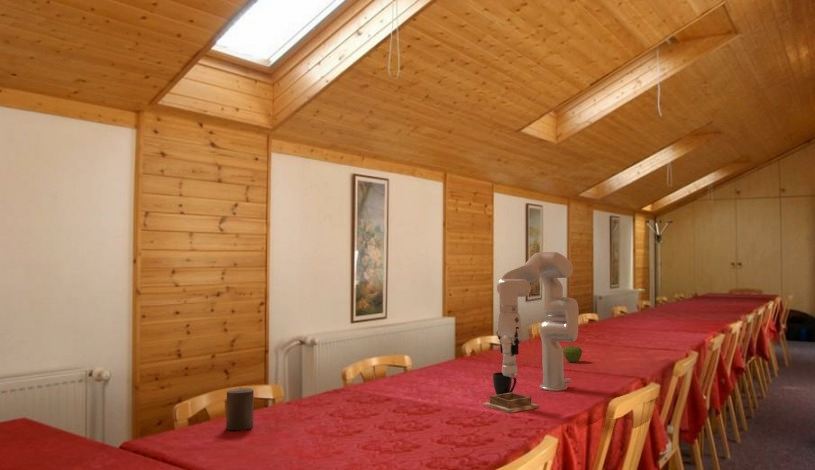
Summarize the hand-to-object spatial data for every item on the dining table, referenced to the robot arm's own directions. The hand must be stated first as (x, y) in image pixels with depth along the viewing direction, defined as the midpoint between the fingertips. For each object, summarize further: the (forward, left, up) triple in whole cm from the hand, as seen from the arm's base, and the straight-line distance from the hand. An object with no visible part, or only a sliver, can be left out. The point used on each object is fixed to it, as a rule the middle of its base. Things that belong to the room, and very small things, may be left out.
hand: (509, 353), depth 256 cm
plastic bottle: (0, 0, -10) cm, 10 cm away
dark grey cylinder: (+103, -31, -22) cm, 110 cm away
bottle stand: (0, 0, -22) cm, 22 cm away
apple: (-102, -63, -22) cm, 122 cm away
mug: (-11, -16, -22) cm, 29 cm away
